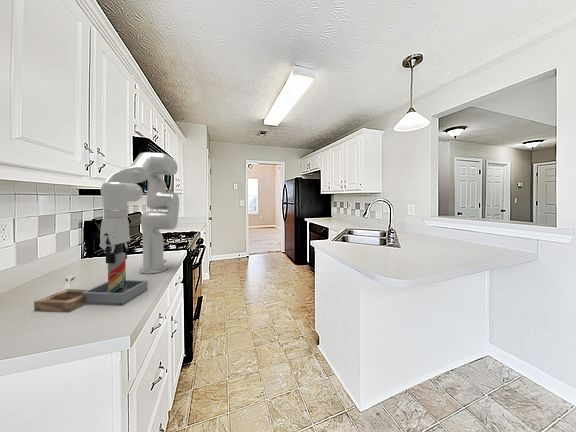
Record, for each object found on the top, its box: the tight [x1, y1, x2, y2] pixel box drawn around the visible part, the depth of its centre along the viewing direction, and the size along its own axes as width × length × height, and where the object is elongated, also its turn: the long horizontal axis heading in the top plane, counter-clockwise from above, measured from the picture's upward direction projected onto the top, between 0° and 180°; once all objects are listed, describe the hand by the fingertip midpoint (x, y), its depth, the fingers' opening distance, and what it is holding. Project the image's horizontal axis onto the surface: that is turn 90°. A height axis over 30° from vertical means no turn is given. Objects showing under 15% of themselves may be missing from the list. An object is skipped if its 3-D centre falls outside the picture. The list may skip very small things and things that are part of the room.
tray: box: [81, 279, 148, 306], centre depth 96 cm, size 15×15×4 cm
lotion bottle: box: [107, 243, 127, 293], centre depth 95 cm, size 6×6×20 cm
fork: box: [62, 274, 75, 291], centre depth 110 cm, size 3×21×3 cm, turn 37°
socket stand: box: [33, 288, 98, 313], centre depth 88 cm, size 12×12×3 cm
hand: (116, 260), depth 95 cm, fingers open, 5 cm apart
